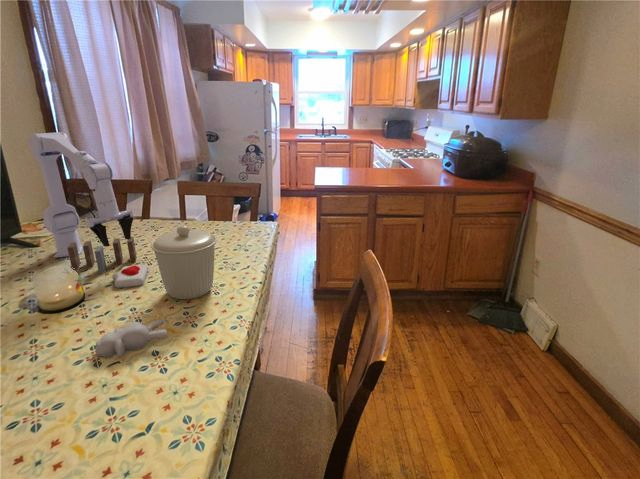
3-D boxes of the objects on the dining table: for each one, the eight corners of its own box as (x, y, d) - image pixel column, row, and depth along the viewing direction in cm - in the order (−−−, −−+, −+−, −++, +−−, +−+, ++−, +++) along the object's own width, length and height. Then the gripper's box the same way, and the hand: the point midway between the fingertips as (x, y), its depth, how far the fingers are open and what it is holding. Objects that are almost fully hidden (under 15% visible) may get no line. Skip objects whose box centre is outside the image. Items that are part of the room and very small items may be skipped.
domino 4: (130, 262, 135) (126, 241, 132) (131, 257, 140) (128, 237, 137) (135, 262, 136) (132, 241, 133) (136, 257, 140) (133, 236, 137)
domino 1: (72, 269, 129) (67, 247, 126) (75, 263, 133) (70, 242, 131) (77, 269, 130) (72, 247, 127) (80, 263, 134) (75, 242, 131)
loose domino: (99, 273, 126) (94, 251, 124) (101, 267, 131) (97, 246, 128) (104, 273, 127) (100, 251, 124) (106, 267, 131) (102, 245, 129)
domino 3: (116, 264, 134) (112, 243, 131) (118, 259, 138) (114, 238, 135) (121, 263, 134) (117, 242, 131) (123, 258, 139) (119, 238, 136)
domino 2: (87, 267, 131) (82, 246, 128) (90, 262, 135) (85, 241, 132) (92, 267, 131) (88, 245, 128) (95, 261, 136) (90, 240, 133)
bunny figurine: (93, 330, 90) (160, 308, 95) (100, 347, 92) (165, 325, 98) (92, 352, 82) (165, 327, 88) (100, 371, 84) (170, 345, 90)
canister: (231, 283, 121) (227, 220, 114) (197, 311, 105) (189, 240, 98) (184, 274, 127) (177, 214, 119) (144, 300, 111) (133, 231, 103)
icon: (115, 261, 126) (147, 259, 129) (117, 273, 128) (149, 270, 130) (105, 277, 115) (141, 274, 117) (108, 290, 117) (143, 286, 119)
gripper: (90, 206, 113) (103, 250, 117) (134, 196, 125) (144, 236, 128) (77, 207, 116) (90, 249, 120) (121, 197, 128) (131, 235, 132)
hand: (117, 242), depth 124 cm, fingers open, 7 cm apart
